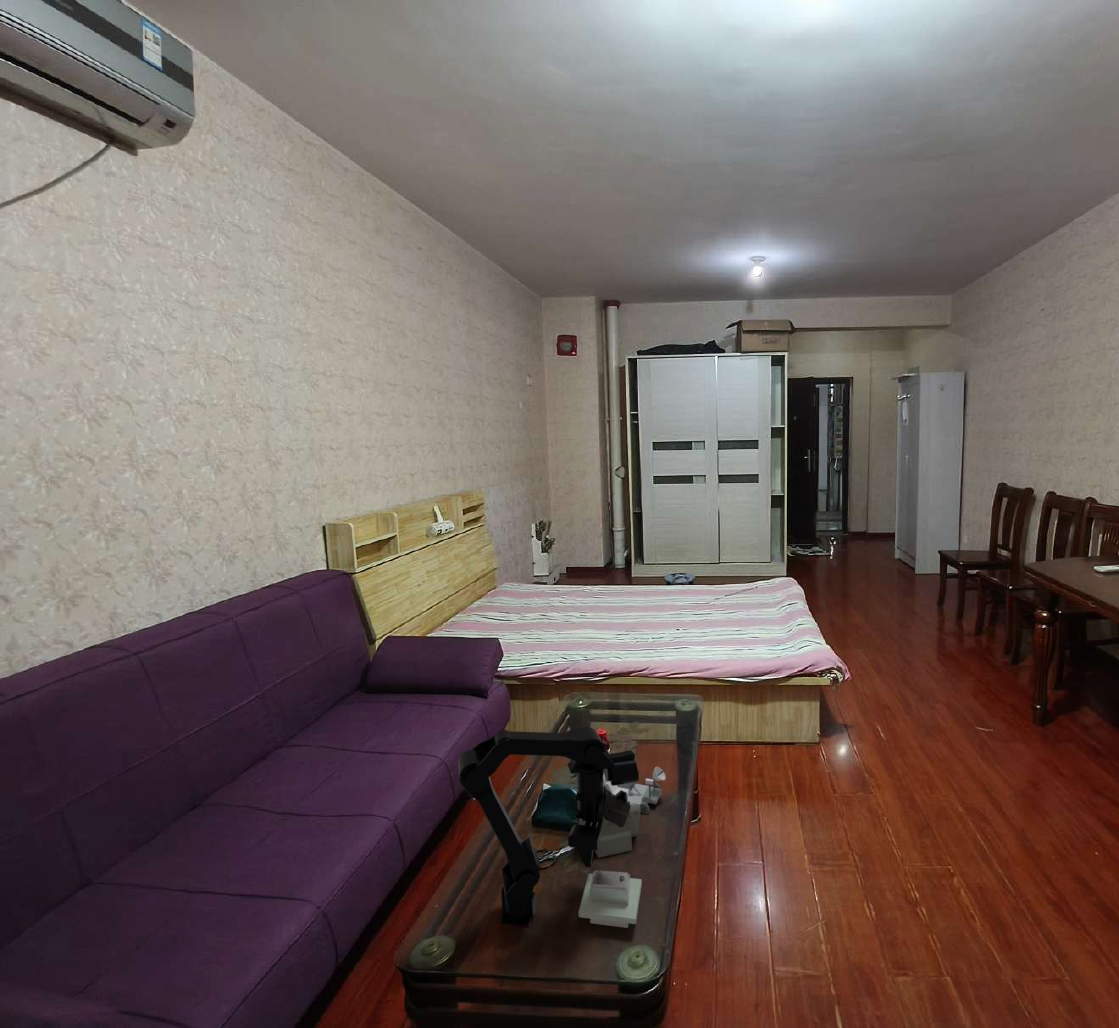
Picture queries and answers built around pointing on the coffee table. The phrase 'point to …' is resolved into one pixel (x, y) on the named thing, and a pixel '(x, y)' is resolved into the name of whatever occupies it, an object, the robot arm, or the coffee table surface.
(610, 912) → the stand
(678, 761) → the coffee table surface
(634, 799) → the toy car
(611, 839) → the digital clock
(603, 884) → the block
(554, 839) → the coffee table surface
